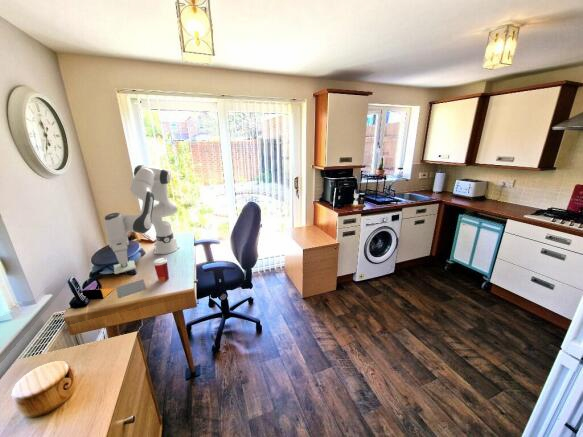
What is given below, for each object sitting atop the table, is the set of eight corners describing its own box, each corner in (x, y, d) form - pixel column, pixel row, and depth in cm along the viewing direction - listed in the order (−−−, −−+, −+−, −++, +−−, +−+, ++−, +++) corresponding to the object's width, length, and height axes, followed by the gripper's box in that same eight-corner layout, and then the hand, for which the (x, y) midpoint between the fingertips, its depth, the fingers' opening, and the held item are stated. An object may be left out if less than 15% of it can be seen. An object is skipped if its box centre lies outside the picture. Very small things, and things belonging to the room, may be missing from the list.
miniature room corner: (81, 302, 130) (77, 292, 128) (96, 289, 141) (93, 279, 139) (104, 301, 131) (100, 291, 129) (117, 289, 142) (115, 278, 140)
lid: (114, 266, 138) (112, 259, 137) (134, 261, 144) (132, 255, 142) (114, 274, 131) (112, 266, 129) (136, 268, 136) (134, 261, 135)
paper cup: (168, 275, 155) (164, 256, 151) (172, 280, 150) (168, 260, 146) (155, 280, 150) (150, 260, 146) (159, 285, 145) (154, 264, 140)
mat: (116, 288, 142) (116, 287, 142) (143, 279, 151) (143, 279, 150) (118, 299, 132) (118, 298, 132) (147, 290, 140) (146, 289, 140)
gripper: (111, 237, 138) (116, 258, 143) (112, 250, 123) (118, 273, 127) (124, 235, 142) (129, 256, 146) (127, 247, 126) (132, 269, 131)
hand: (124, 264), depth 137 cm, fingers closed on lid, 3 cm apart
